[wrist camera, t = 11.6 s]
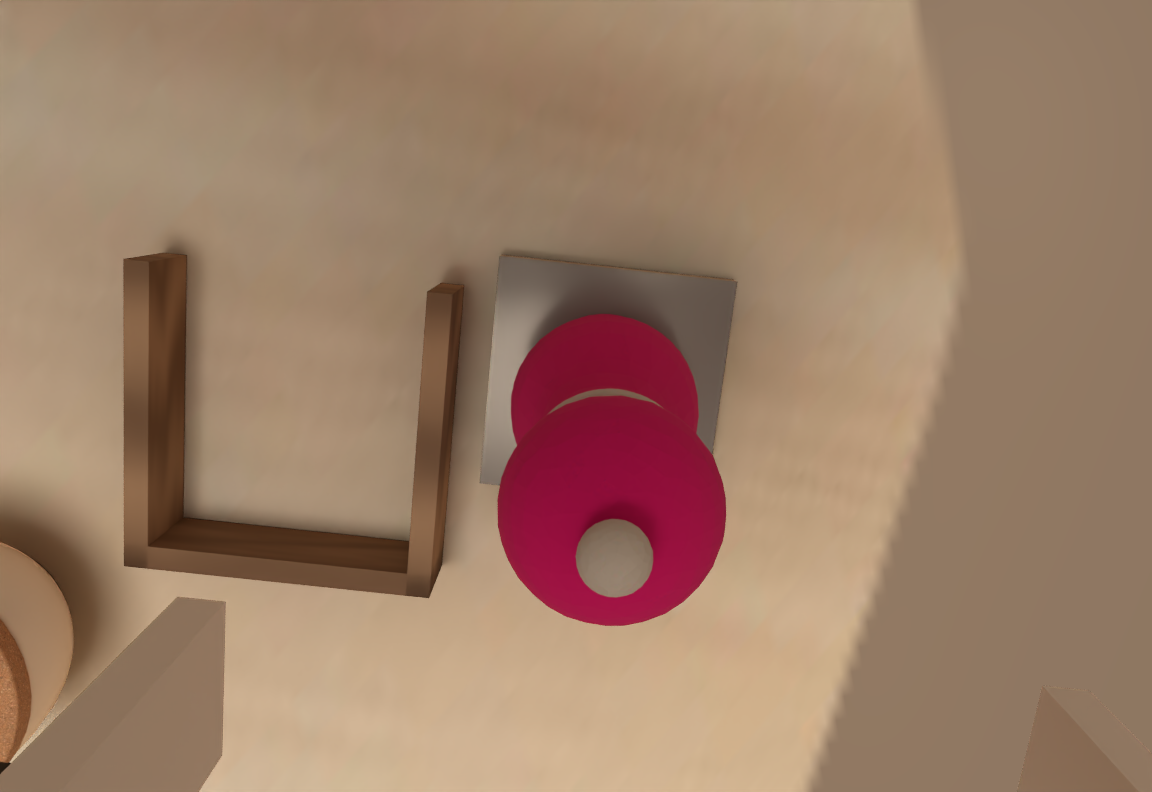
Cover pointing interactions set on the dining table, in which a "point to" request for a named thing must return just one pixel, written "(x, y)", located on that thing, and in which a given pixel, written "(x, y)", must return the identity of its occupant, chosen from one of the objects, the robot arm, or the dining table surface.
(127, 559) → the u-shaped frame
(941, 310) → the dining table surface
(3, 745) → the lidded jar
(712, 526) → the pepper mill
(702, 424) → the coaster
